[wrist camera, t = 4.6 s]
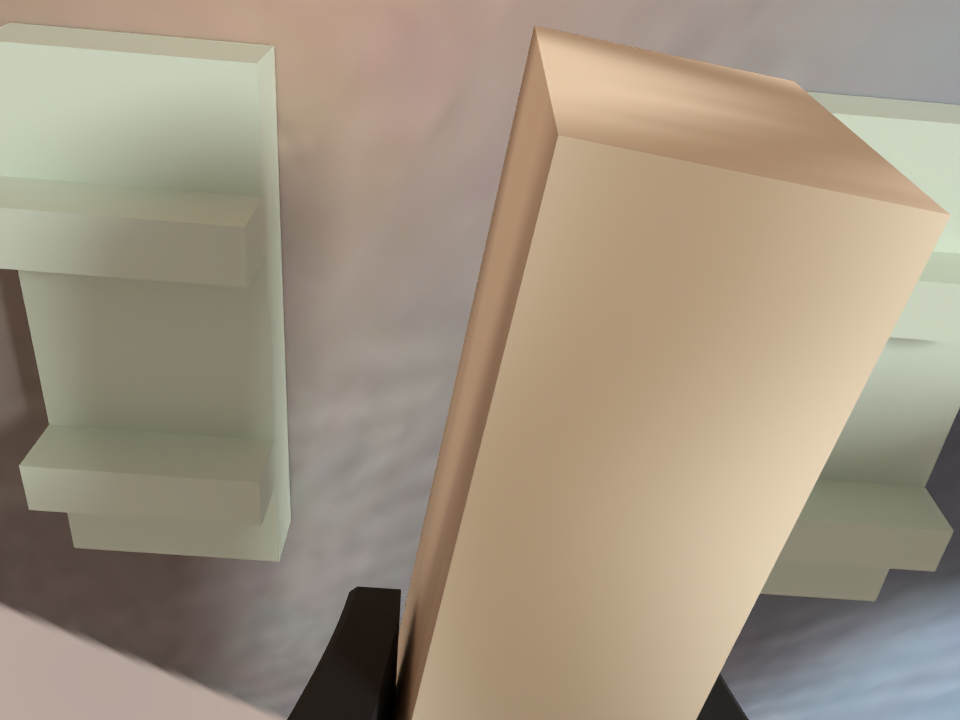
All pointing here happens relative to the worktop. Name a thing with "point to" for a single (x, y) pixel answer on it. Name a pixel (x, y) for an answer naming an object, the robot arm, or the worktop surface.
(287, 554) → the worktop surface
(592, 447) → the bar
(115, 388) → the stand
